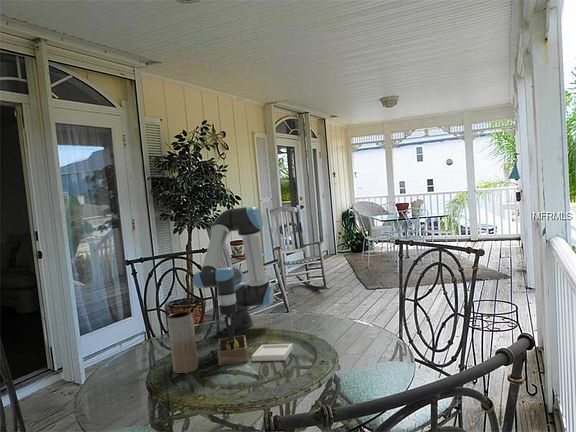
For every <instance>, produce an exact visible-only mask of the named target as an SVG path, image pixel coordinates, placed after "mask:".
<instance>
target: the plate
mask: <svg viewBox="0 0 576 432" xmlns="http://www.w3.org/2000/svg"><path fill="white" fill-rule="evenodd" d="M293 349H294V345H293V343H276V344H275V343H274V344H272V343H271V344H261V345H260V346H259V348H257V350H256V351H254V352H253V354H251V360H252V361H251V362H263V361H265V362H267V361H269V362H270V361H286V359H287V358H288V357H289V355H290V354H291V352H292V351H293ZM291 350H292V351H291Z"/></svg>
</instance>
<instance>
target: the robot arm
mask: <svg viewBox="0 0 576 432" xmlns="http://www.w3.org/2000/svg"><path fill="white" fill-rule="evenodd" d="M263 226H264V221H263V216H262V213H261V211H260V209H259V208H258V207H257V206H246V207H245V206H243V207H237V208H229V209H225V210H224V211H223V212H222V213H220V214H219V215H218V216H217V217H216V218H215V220H214V222H213V224H212V225H211V229H210V231H211V236H210V240H209V242H208V247H207V250H206V254H205V257H204V259H203V260H204V261H203V263H202V267H201V269H200V271H196V272H195V273H194V275H193V276H192V278H193V279H192V280H193V285H194V287H195V288H197V289H207V288H216V289H217V297H216V300H218V305H219V306H218V307H219V314H220V315H225V316H224V323H225V324H224V326H225V330H226V331H227V338H228V341H229V342H228V343H227V345H229V350H232V349H236V347H235V341H234V339H235V337H236V336H237V334H236V333H235V331H238V330H244V329H248V328H250V327H252V326H254V319H253V317H252V314H250V311H249V308H250V307H264V306H271V304H272V303H273V301H274V295H275V290H274V289H275V288H274V283H273V282H270V279H269V278H268V277H266V273H265V266H264V262H263V256H262V249H261V243H260V237H259V234H260V232H261V229H262V228H263ZM236 231H237V234H238V235H239V236H240V237H241V240H242V245H243V251H244V256H245V262H246V267H247V271H248V272H247V273H248V281H247V284H246V282H243V279H244V273H243V271H242V270H241V269H240V268H237V267H235V268H233V267H229V266H228V267H227V266H226V267H221V268H220V264H221V259H222V256H223V252H224V248H225V245H226V242H227V241H226V240H227V238H228V237H229V236H230V233H231V232H236ZM232 340H233V341H232Z"/></svg>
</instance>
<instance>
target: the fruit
mask: <svg viewBox="0 0 576 432" xmlns="http://www.w3.org/2000/svg"><path fill="white" fill-rule="evenodd" d="M232 341H233V340H232ZM234 341H235V347H236V349H239V344H238V342H237V341H236V340H235V339H234ZM228 342H229V341H228ZM228 342H227V343H228ZM226 349H227V350H229V345H227V344H226Z"/></svg>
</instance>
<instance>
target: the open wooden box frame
mask: <svg viewBox="0 0 576 432" xmlns="http://www.w3.org/2000/svg"><path fill="white" fill-rule="evenodd" d="M234 337H235V340H236V341H237V342H238V344H239V349H232V350H227V349H226V344H227V342H228V337H223V338H218V341H217V342H218V343H217V344H218V345H217V360H218V366H225V365H231V364H238V363H244V362H249V355H248V347H247V346H248V345H247V339H246V335H245V334H244V335H236V336H234Z"/></svg>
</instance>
